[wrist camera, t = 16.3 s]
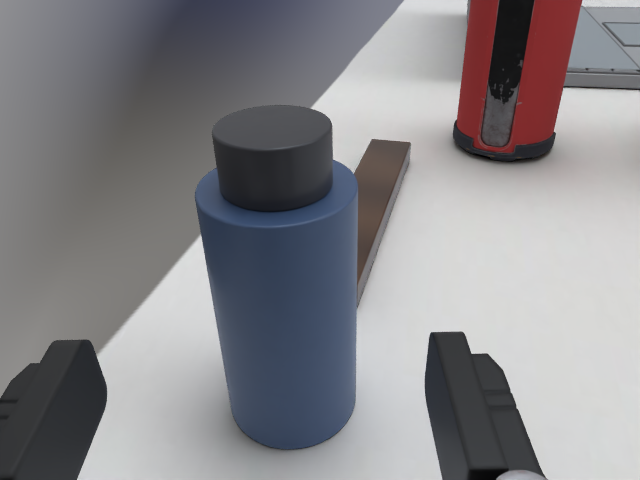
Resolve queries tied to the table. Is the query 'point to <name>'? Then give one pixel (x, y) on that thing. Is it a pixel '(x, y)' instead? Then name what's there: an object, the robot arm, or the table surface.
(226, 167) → the water bottle
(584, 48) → the laptop
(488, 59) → the speaker
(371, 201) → the walnut strip
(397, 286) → the table surface
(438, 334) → the robot arm
